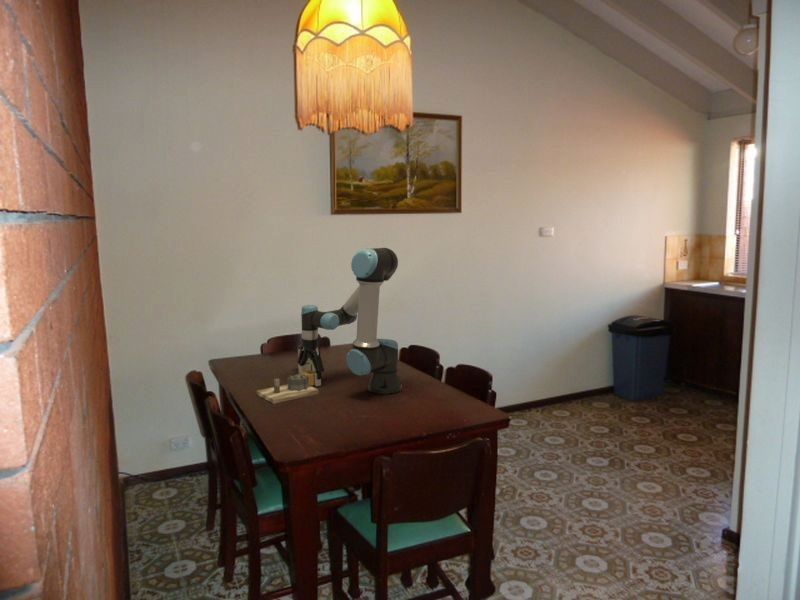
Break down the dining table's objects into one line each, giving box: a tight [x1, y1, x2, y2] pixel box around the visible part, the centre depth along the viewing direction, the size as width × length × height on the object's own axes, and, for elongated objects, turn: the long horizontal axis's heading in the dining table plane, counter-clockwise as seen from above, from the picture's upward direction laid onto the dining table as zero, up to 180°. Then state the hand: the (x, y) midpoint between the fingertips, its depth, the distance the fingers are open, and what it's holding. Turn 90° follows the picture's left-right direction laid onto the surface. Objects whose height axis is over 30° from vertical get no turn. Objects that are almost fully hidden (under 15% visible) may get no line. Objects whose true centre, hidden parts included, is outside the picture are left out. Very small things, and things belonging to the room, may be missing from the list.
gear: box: [301, 370, 316, 387], centre depth 273 cm, size 9×9×5 cm
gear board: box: [256, 373, 320, 405], centre depth 255 cm, size 16×22×8 cm
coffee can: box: [297, 343, 319, 374], centre depth 289 cm, size 10×10×14 cm
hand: (310, 382), depth 273 cm, fingers open, 13 cm apart
